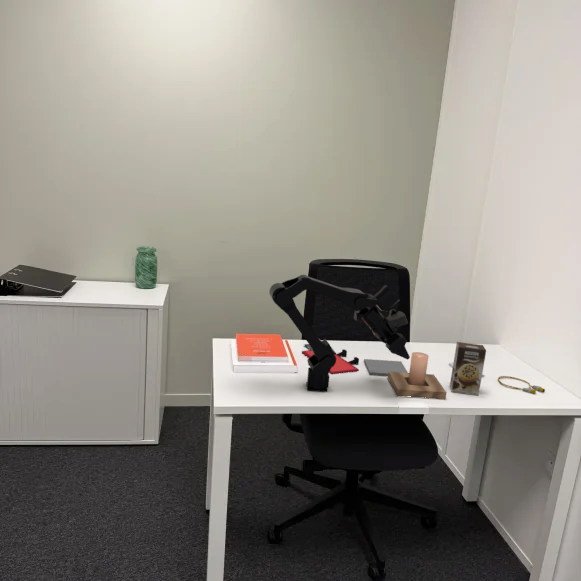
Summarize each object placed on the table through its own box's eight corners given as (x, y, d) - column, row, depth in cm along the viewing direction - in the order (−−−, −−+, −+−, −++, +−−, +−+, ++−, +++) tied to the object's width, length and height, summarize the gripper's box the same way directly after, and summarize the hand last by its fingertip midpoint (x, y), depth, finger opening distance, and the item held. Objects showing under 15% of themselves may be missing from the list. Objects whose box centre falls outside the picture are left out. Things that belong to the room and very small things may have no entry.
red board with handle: (326, 344, 248) (292, 347, 241) (326, 337, 247) (293, 341, 240) (367, 372, 222) (331, 376, 215) (368, 364, 221) (332, 369, 214)
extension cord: (516, 396, 210) (517, 390, 210) (490, 379, 225) (491, 374, 224) (547, 395, 213) (548, 389, 213) (519, 378, 228) (520, 373, 228)
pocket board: (396, 396, 200) (397, 389, 199) (387, 378, 215) (388, 371, 215) (445, 399, 201) (446, 392, 200) (432, 381, 216) (433, 374, 216)
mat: (369, 375, 217) (370, 372, 217) (363, 361, 231) (364, 358, 231) (409, 377, 218) (409, 374, 218) (400, 363, 231) (401, 361, 231)
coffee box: (451, 392, 207) (458, 346, 204) (449, 385, 214) (456, 341, 210) (479, 395, 206) (486, 350, 203) (476, 388, 213) (483, 344, 209)
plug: (409, 391, 205) (413, 357, 203) (405, 384, 211) (410, 351, 208) (425, 392, 206) (430, 358, 203) (421, 386, 211) (426, 352, 208)
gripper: (404, 312, 191) (433, 346, 195) (385, 297, 208) (412, 329, 213) (377, 335, 191) (406, 369, 195) (360, 318, 209) (387, 350, 213)
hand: (403, 353), depth 204 cm, fingers open, 9 cm apart
